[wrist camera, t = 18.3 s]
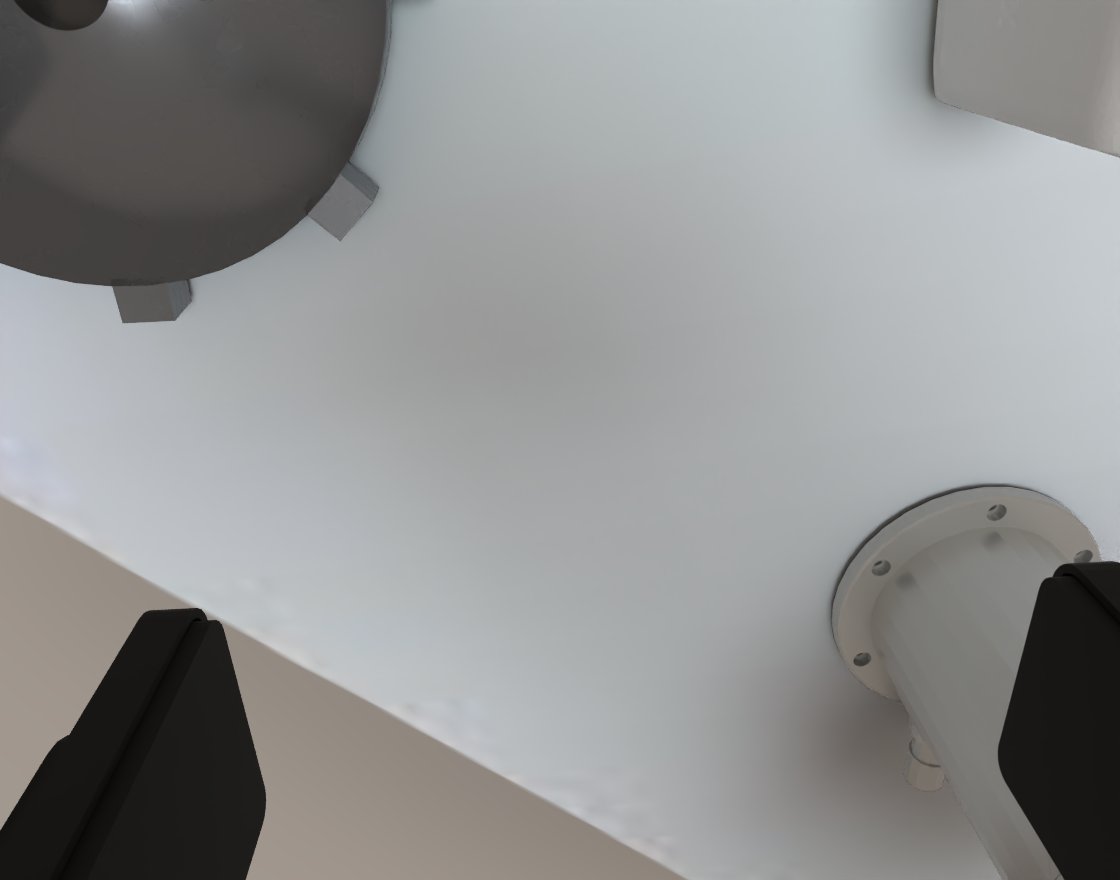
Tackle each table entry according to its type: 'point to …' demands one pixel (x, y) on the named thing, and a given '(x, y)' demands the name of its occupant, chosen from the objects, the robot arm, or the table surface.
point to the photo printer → (1034, 65)
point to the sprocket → (179, 135)
